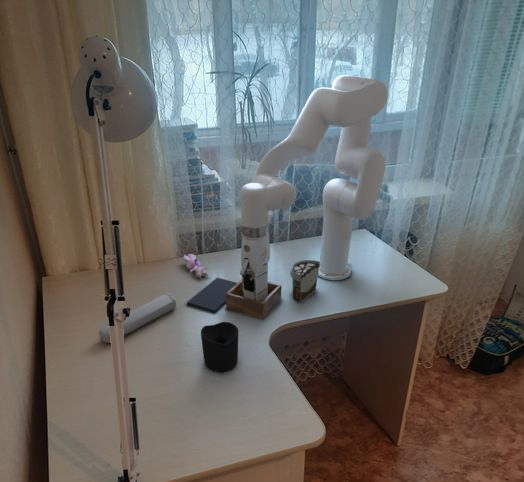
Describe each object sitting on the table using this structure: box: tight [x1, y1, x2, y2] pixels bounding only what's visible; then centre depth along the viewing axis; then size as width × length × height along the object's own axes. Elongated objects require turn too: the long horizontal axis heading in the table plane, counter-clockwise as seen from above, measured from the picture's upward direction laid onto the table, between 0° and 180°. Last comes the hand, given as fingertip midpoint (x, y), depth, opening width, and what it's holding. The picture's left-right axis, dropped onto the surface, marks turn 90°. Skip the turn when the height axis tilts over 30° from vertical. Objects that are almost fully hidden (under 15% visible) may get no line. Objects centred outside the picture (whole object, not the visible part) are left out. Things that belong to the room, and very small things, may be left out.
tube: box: [98, 291, 177, 344], centre depth 142 cm, size 5×5×25 cm
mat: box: [186, 277, 238, 314], centre depth 158 cm, size 18×10×1 cm, turn 153°
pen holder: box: [200, 321, 239, 373], centre depth 127 cm, size 9×9×10 cm
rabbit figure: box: [182, 253, 209, 281], centre depth 169 cm, size 6×6×15 cm
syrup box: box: [241, 260, 269, 302], centre depth 150 cm, size 6×6×14 cm
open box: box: [225, 279, 282, 320], centre depth 152 cm, size 13×13×5 cm
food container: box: [289, 259, 320, 304], centre depth 157 cm, size 12×6×10 cm, turn 145°
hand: (255, 284), depth 150 cm, fingers closed on syrup box, 6 cm apart
